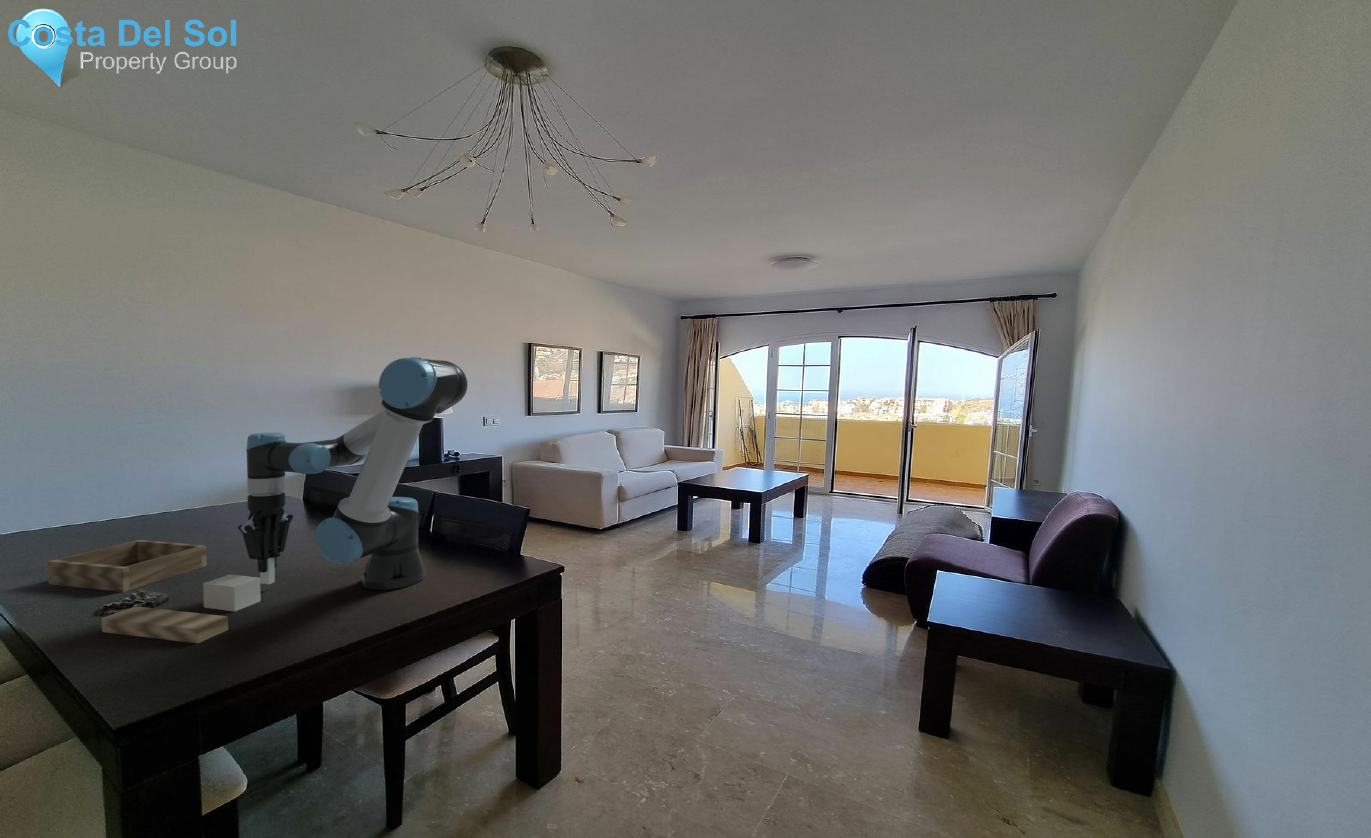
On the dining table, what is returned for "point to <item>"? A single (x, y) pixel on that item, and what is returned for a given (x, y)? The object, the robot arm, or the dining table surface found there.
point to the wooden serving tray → (109, 573)
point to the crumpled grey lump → (134, 602)
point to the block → (231, 592)
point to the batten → (165, 624)
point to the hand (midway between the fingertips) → (267, 582)
